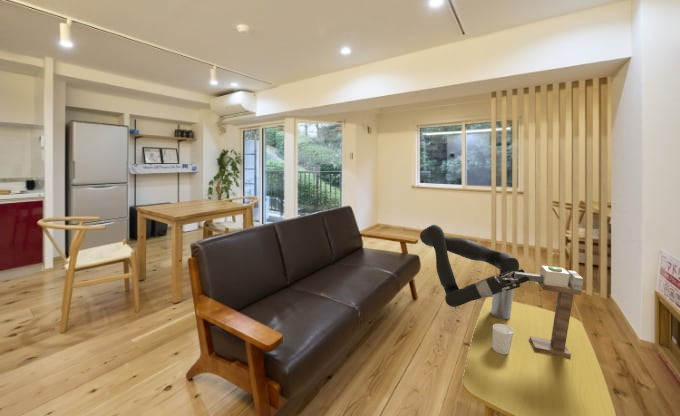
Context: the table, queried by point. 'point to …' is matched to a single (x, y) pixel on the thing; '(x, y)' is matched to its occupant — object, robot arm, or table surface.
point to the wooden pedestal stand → (560, 317)
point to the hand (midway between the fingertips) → (526, 274)
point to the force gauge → (548, 276)
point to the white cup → (502, 338)
